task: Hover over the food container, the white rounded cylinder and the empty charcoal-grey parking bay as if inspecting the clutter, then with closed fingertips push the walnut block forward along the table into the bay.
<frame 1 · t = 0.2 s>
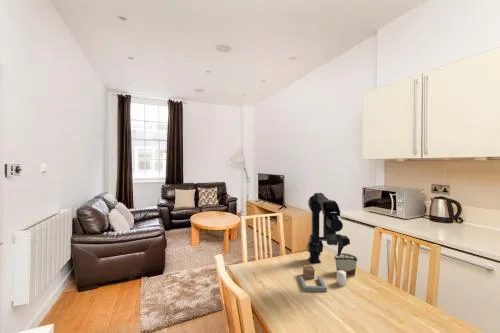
hand: (329, 256, 115), 14 cm above the table, fingers open, 9 cm apart
walnut block: (308, 276, 123), on the table
food container: (344, 273, 127), on the table
grey bay: (312, 284, 115), on the table
white rounded cylinder: (341, 283, 116), on the table
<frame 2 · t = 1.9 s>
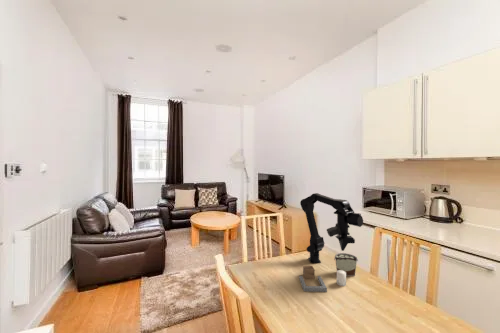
hand: (342, 250, 127), 13 cm above the table, fingers closed
nothing on the table moved.
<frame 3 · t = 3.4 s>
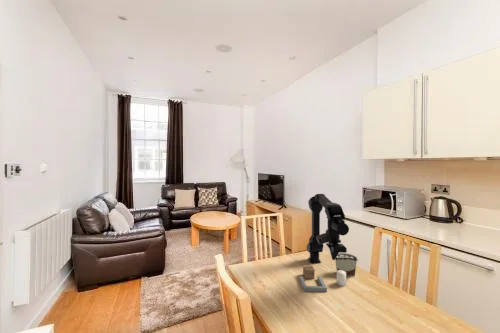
hand: (333, 259, 115), 12 cm above the table, fingers closed
nothing on the table moved.
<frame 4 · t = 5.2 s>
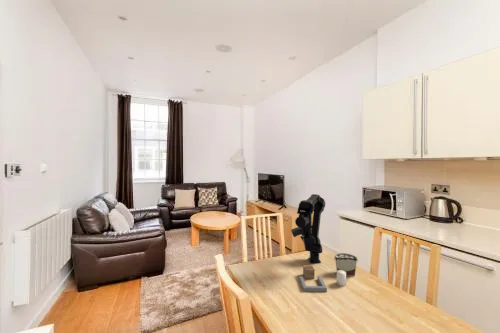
hand: (306, 250, 129), 12 cm above the table, fingers closed
nothing on the table moved.
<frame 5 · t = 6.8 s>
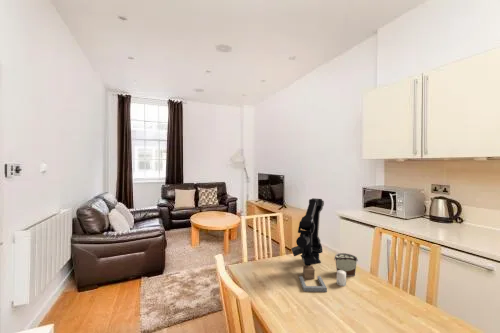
hand: (306, 269, 128), 2 cm above the table, fingers closed
walnut block: (308, 276, 123), on the table, touching gripper
everything else where it was.
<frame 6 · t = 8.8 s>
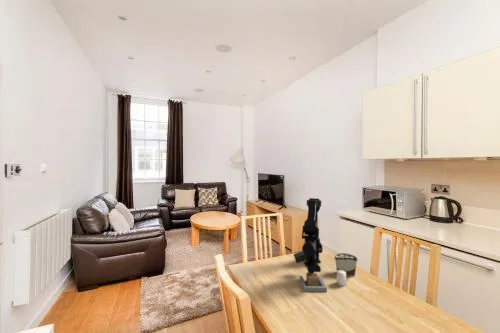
hand: (310, 277, 119), 2 cm above the table, fingers closed
walnut block: (312, 284, 115), resting in grey bay, touching gripper
everything else where it was.
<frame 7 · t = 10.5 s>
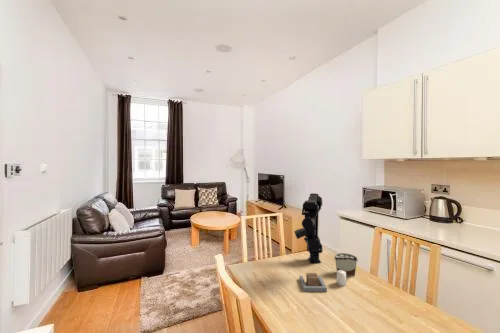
hand: (310, 252, 125), 12 cm above the table, fingers closed
walnut block: (312, 285, 115), resting in grey bay
everything else where it was.
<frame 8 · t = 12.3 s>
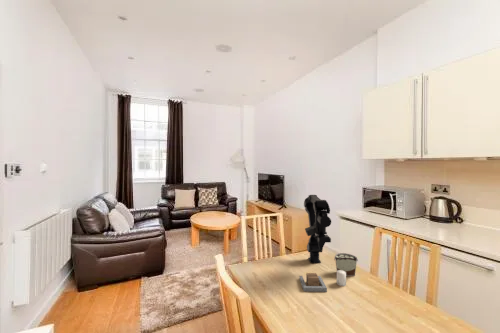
hand: (320, 249, 129), 13 cm above the table, fingers closed
nothing on the table moved.
at the end: walnut block inside the target area on the grey bay (0.4 cm from its centre), point 0.0 cm above the grey bay's base; walnut block tilted 0° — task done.
